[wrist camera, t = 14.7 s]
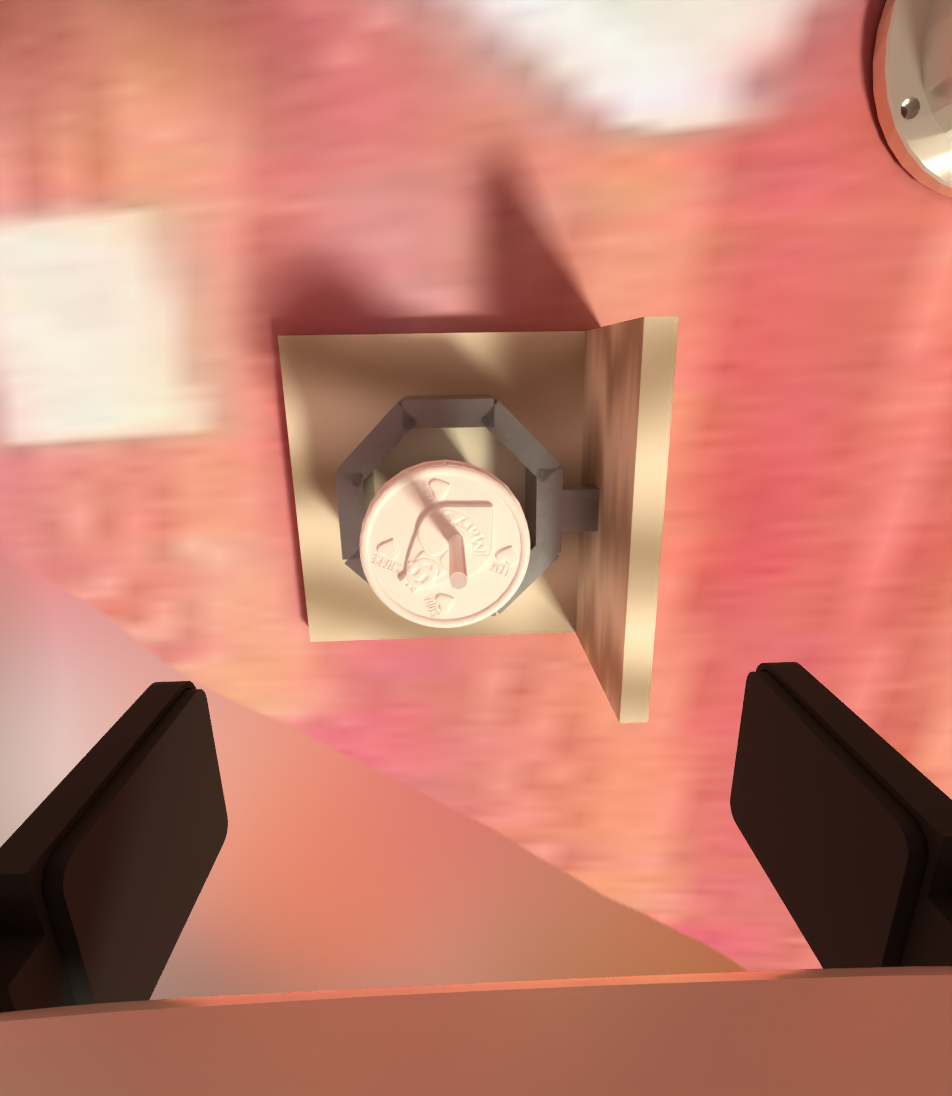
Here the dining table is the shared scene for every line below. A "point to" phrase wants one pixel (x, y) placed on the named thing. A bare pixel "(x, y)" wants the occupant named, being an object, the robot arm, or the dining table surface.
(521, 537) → the smoothie
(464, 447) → the holder
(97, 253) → the dining table surface
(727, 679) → the dining table surface
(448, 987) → the robot arm
